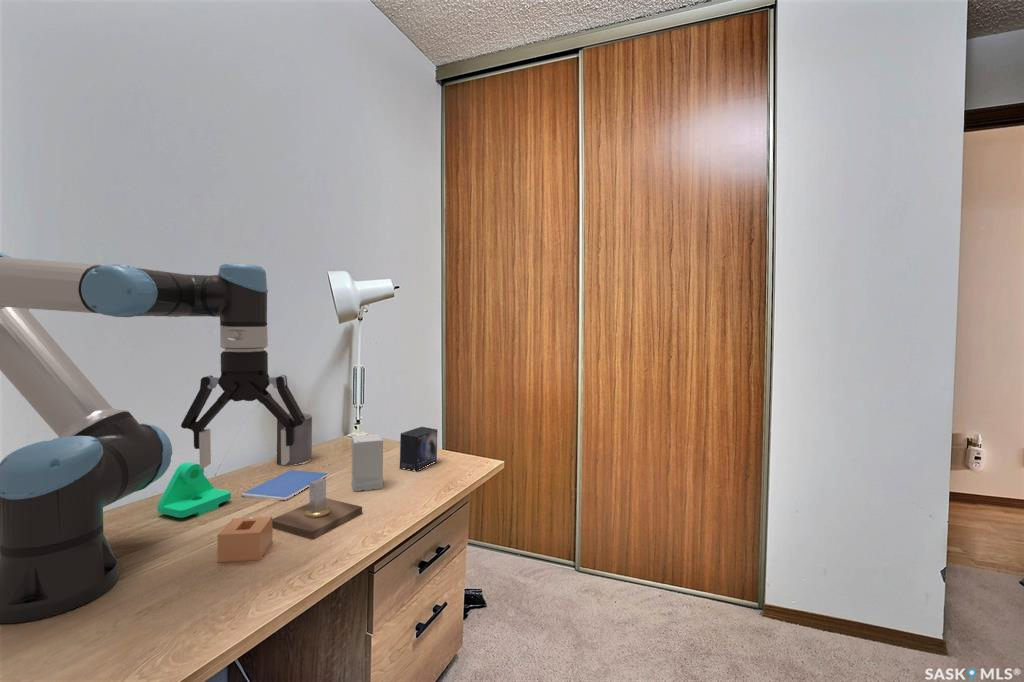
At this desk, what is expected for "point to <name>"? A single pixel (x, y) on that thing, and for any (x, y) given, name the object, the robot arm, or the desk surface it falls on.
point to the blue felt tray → (284, 485)
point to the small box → (418, 448)
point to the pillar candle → (297, 442)
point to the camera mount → (190, 493)
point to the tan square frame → (244, 539)
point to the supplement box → (367, 462)
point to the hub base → (316, 514)
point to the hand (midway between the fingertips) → (245, 464)
